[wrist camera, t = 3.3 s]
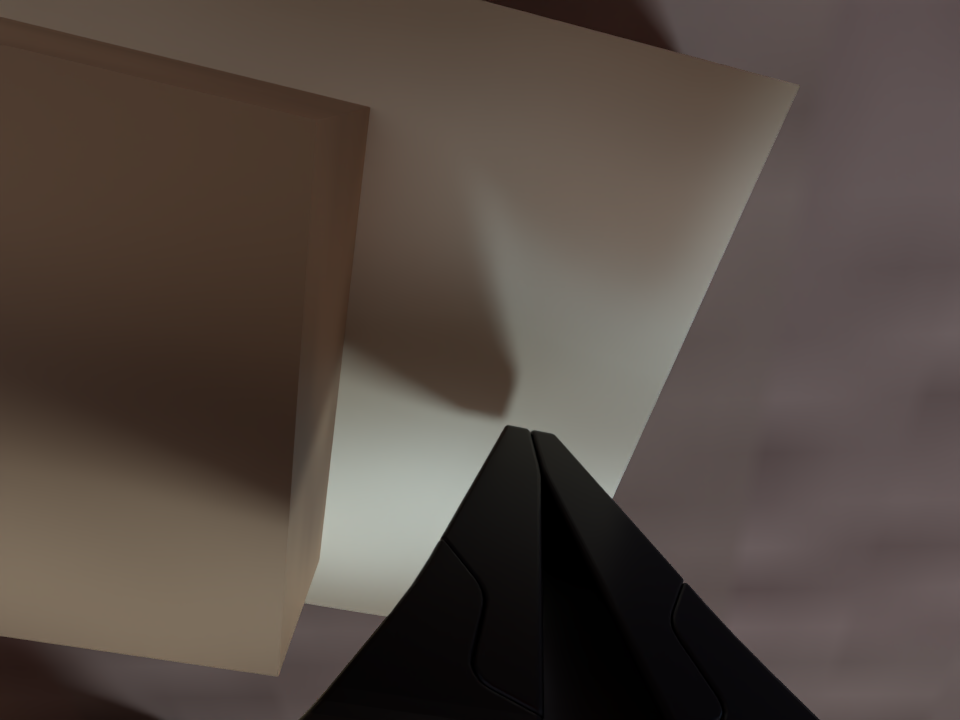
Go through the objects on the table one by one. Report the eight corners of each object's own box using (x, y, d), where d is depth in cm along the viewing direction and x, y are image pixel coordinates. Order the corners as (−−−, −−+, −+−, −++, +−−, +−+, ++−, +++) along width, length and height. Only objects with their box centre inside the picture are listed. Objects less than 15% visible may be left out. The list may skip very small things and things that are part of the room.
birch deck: (534, 517, 16) (547, 642, 12) (-23, 417, 15) (-187, 525, 11) (695, 82, 10) (800, 85, 7) (-180, -147, 9) (-609, -292, 6)
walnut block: (319, 560, 11) (278, 676, 9) (-26, 502, 11) (-160, 612, 8) (370, 107, 7) (316, 119, 5) (-193, -31, 7) (-539, -85, 4)
